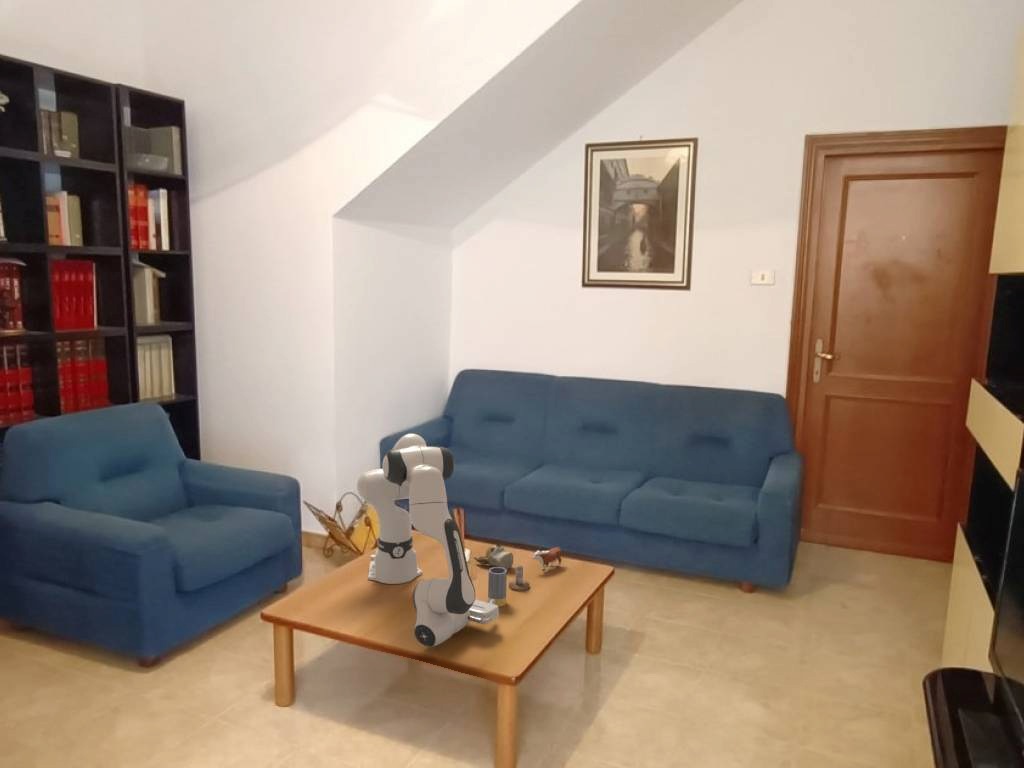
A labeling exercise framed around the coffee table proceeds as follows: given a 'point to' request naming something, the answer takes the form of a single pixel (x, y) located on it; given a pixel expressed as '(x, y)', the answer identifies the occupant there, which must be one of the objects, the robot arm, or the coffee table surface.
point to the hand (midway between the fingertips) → (479, 597)
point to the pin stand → (519, 581)
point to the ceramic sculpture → (497, 557)
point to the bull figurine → (548, 557)
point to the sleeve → (497, 585)
